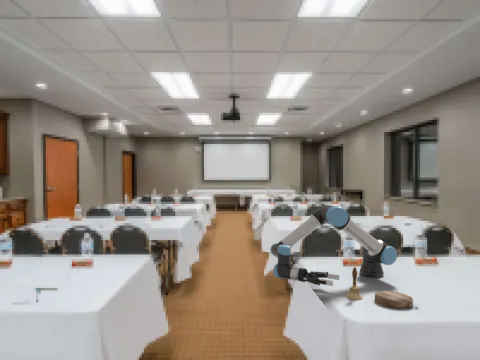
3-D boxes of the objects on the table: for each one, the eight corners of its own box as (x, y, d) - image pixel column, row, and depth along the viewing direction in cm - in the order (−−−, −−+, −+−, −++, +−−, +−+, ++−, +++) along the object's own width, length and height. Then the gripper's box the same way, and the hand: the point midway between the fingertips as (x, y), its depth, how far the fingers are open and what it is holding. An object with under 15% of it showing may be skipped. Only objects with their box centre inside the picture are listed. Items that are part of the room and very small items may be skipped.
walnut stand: (390, 294, 193) (390, 289, 193) (420, 305, 177) (420, 299, 177) (367, 299, 184) (367, 294, 184) (397, 311, 168) (397, 305, 168)
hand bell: (343, 294, 191) (344, 265, 191) (358, 294, 192) (359, 265, 192) (349, 300, 183) (350, 269, 183) (365, 299, 184) (365, 269, 184)
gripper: (306, 276, 214) (341, 281, 203) (291, 286, 192) (329, 293, 182) (306, 263, 214) (341, 268, 203) (291, 272, 192) (329, 278, 182)
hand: (336, 280), depth 192 cm, fingers open, 13 cm apart
